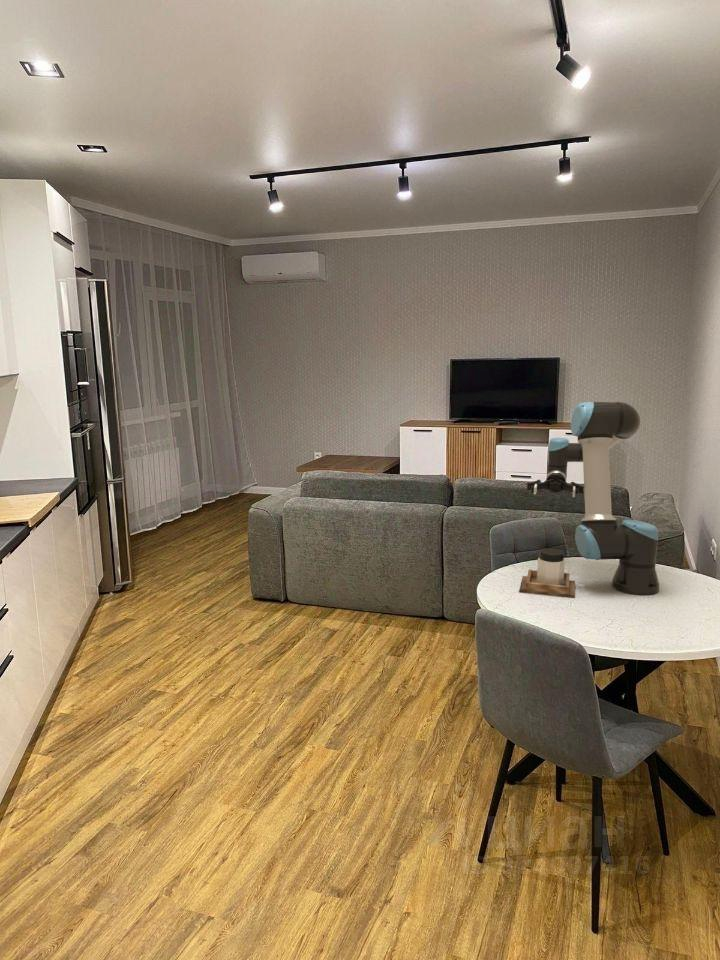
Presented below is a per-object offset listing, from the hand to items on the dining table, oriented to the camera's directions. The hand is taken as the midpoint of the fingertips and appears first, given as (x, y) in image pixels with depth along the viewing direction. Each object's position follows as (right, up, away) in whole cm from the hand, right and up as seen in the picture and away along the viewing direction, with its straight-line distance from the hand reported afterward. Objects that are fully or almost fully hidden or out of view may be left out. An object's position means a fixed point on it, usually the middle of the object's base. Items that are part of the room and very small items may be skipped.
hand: (554, 492), depth 258 cm
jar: (-5, -32, -11) cm, 34 cm away
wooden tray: (-5, -33, -11) cm, 35 cm away
